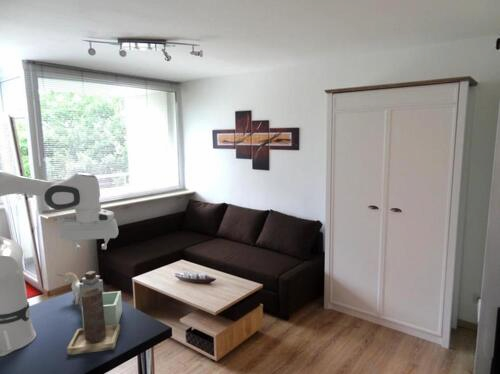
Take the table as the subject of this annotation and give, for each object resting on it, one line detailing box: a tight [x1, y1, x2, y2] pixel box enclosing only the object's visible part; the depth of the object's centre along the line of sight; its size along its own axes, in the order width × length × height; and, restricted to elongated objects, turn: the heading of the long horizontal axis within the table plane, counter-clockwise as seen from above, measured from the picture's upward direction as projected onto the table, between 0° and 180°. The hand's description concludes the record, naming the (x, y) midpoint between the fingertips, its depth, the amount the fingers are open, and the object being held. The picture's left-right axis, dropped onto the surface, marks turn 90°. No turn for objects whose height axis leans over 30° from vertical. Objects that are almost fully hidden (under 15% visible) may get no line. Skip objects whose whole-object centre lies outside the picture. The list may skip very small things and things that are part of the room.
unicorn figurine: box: [56, 272, 82, 306], centre depth 161 cm, size 7×20×13 cm, turn 61°
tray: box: [66, 323, 121, 356], centre depth 130 cm, size 16×13×2 cm
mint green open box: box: [81, 290, 123, 328], centre depth 144 cm, size 13×13×10 cm
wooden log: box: [82, 288, 106, 342], centre depth 128 cm, size 8×7×20 cm
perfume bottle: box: [79, 270, 104, 310], centre depth 153 cm, size 7×7×18 cm
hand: (91, 249), depth 130 cm, fingers open, 8 cm apart
